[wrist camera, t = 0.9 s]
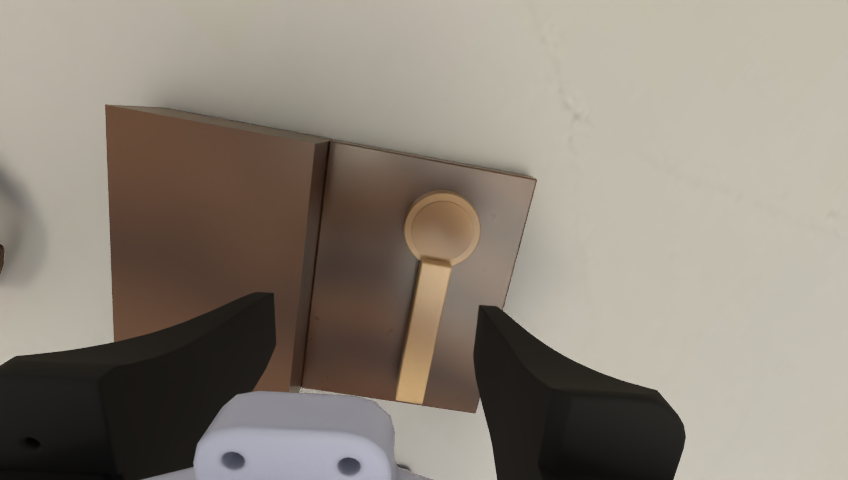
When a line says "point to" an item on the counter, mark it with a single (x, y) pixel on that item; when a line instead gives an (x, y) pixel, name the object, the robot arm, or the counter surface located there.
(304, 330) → the step shelf
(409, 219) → the spoon
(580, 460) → the robot arm
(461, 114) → the counter surface
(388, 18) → the counter surface
